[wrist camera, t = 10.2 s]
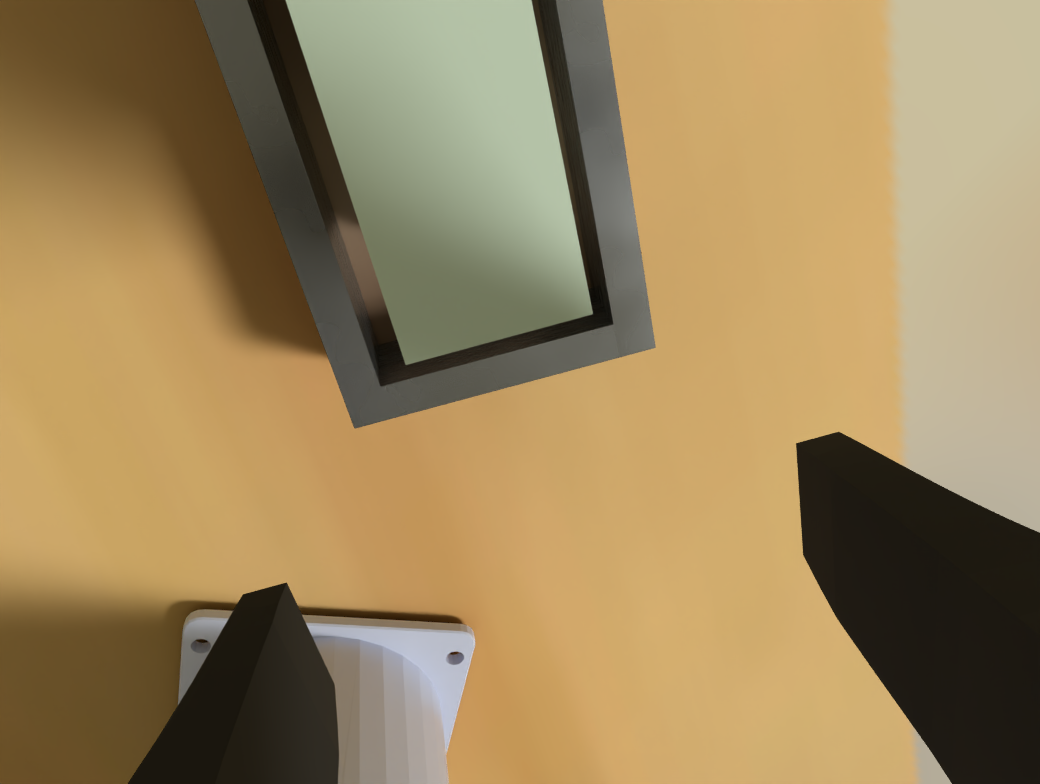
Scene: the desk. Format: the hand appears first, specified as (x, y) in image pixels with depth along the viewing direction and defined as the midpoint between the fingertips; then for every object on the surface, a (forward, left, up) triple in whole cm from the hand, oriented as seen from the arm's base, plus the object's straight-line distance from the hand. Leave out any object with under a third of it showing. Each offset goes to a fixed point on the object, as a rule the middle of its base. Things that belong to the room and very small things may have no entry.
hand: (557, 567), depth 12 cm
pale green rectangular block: (+6, +3, -9) cm, 11 cm away
